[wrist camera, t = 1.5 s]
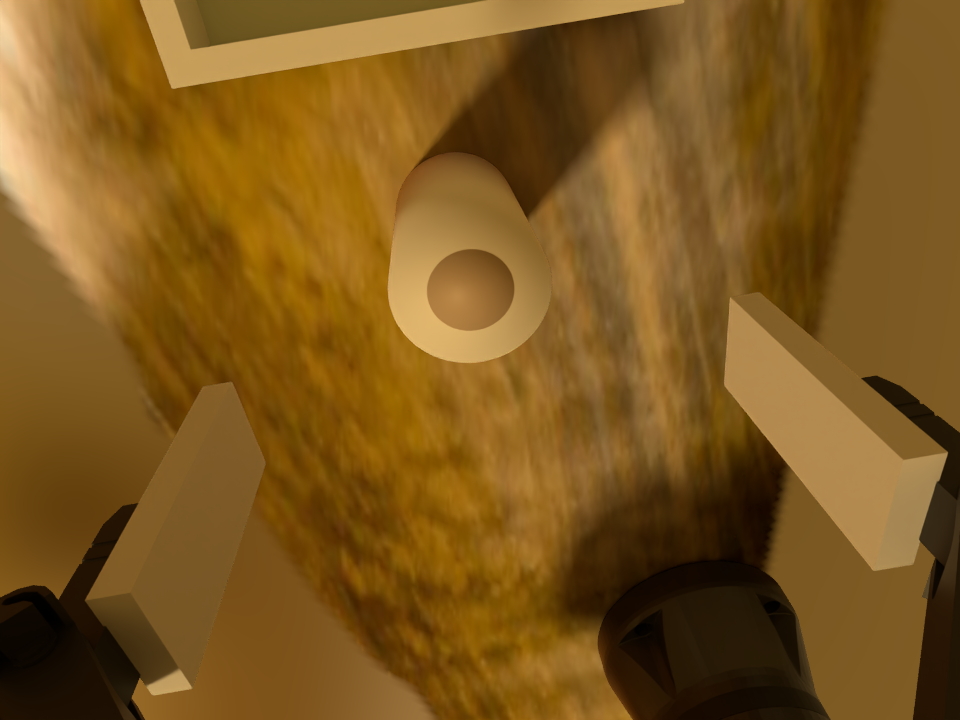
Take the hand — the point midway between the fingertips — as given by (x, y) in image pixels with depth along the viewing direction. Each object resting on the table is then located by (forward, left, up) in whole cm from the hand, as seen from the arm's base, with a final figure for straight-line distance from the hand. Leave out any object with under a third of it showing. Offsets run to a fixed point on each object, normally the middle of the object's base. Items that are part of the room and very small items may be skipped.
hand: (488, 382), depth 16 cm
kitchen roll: (0, 0, -17) cm, 17 cm away
